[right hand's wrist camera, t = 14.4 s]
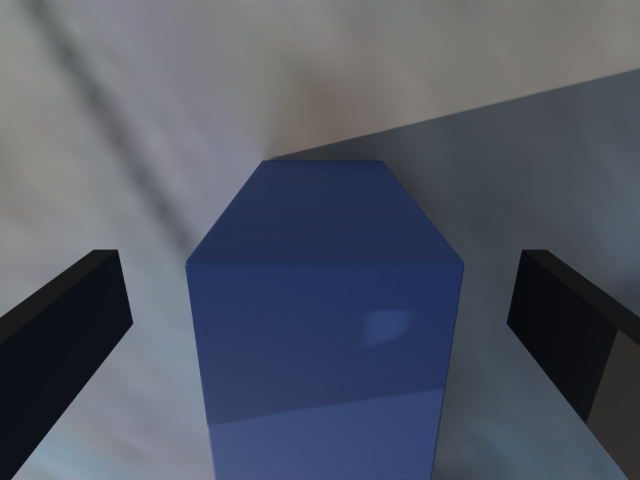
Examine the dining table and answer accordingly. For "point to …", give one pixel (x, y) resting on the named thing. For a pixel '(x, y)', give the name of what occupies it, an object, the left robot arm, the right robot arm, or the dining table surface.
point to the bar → (323, 326)
